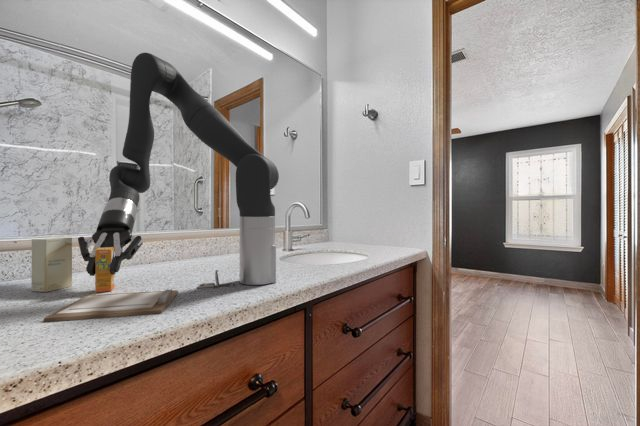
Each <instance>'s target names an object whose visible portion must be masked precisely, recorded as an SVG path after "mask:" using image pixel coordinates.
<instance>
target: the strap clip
mask: <svg viewBox="0 0 640 426" xmlns="http://www.w3.org/2000/svg"><path fill="white" fill-rule="evenodd" d="M214 272H215V273H214V276H215V277H214V278H215V283H214V282H203V283H199V284H198V287H197V290H207V289H210V290H211V289H215V287H217V288H218V289H219V288H220V289H221V288H233V287H234V288H235V283H231V282H230V283H220V281H219V274H218V272H219V270H217V269H216V270H215V271H214Z"/></svg>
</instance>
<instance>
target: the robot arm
mask: <svg viewBox="0 0 640 426" xmlns="http://www.w3.org/2000/svg"><path fill="white" fill-rule="evenodd" d="M129 88H130V89H129V114H128V122H127V123H128V124H127V130H126V135H125V138H124V142H123V148H122V152H121V153H122V156H123V157H124V158H125V159H127V160H128V161H131V162H133V163H135V164H137V165H138V167H139V168H134V167H130V166H127V165H123V164H122V165H121V164H119V165H115V166H113V168H111V170H110V173H109V176H108V177H109V186H110V193H109V197H108V200H107V203H106V204H105V206H104V207H103V210H102V213H101V216H100V218H99V221H98V224H97V227H96V231H95V232H93V234H92V235H91V236H89V237H84V236H79V237H78V238H77V241H78V247H79V251H80V255H81V257H82V258H83V261H84V262H87V264H86V268H85V269H86V272H87V274H89V276H90V277H93V276H94V277H95V250H96V249H98V248H104V247H114V257H113V259H112V262H111V266H110V273H111V275H114V276H115V275H116V273H118V272H119V271H120V269H121V264H122V261H124V260H127V261H130V260H131V259H133V257H134V256H135V254H136V253H137V252H138V251H139V249H140V248H141V247H142V245H143V239H142V236H141V235H136V236H135V235H134V236H133V234H132V233H133V231H134V230H133V229H134V227H135V226H134V225H135V222H136V220H137V209H138V207H139V202H140V194H144V193H146V192H147V191H148V190H149V189H150V186H151V173H150V171H151V170H150V162H151V160H150V159H151V156H152V155H151V154H152V150H153V146H154V141H155V128H154V125H153V120H152V116H151V110H150V109H151V108H150V107H151V106H150V103H151V102H150V101H151V96H152V94H153V93H152V92H154V93H156V94H159V95H162V96H163V97H165V98H166V99H168V100H169V101H170V102H171V103H172V104H173V105H174V106H175V107H177V109H178V110H179V112H180V115H181V117H182V120H183V122H184V124H185V126H186V127H187V128H188V130H190V131H191V132H192V134H193V135H195V136H196V137H197V138H198V139H199V140H200V141H201V142H203V144H205V145H206V146H208V147H209V149H212V150H213V151H215V152H216V153H218V154H219V155H220V156H221V157H224V158H225V159H226V160H228V161H229V162H230V163H232V164H233V165H234V166H235V167H236V170H235V197H236V204H237V208H238V211H239V283H240V284H243V285H247V286H258V285H267V284H271V283H272V284H274V283H277V246H276V208H275V205H274V204H273V201H272V197H271V195H272V194H271V190H273V189H274V188H276V186H277V185H278V182H279V179H280V178H279V177H280V176H279V170H278V168H277V166H276V164H275V163H274V162H273V161H271V160H270V159H269V158H268V157H266V156H265V155H264V154H262V153H261V152H260V151H258V150H257V149H256V148H254V147H253V146H252V145H251V144H250V143H249V142H248V141H247V140H246V139H245V138H244V136H242V135H241V133H240V132H239V131H238V130H237V129H236V128H235V127H234V126H233V124H232V123H231V122H230V121H228V119H227V118H226V117H225V116H224V115H223V114H222V113H221V112H220V111H219V110H217V109H216V108H215V106H214V105H212V104H211V103H210V102H209V101H208V100H207V99H205V98H204V97H203V96H202V95H201V94H199V93H198V92H197V91H196V90H195V89H193V87H192V86H191V84H189V83H188V82H187V80H186V79H185V78H184V77H183V75H182V74H181V73H180V72H179V71H178V70H177V69H176V67H175V66H173V65H172V64H171V63H169V62H168V61H166V60H164V59H162V58H160V57H158V56H156V55H154V54H152V53H149V52H141V53H139V54H137V55H136V56H135V58H134V60H133V62H132V65H131V70H130V86H129ZM92 243H94V245H93V249H92V250H91V252H89V248H91V245H92ZM128 244H129V245H128ZM127 245H128V246H127ZM126 246H127V247H126ZM124 247H126V249H125V250H124V249H123V248H124Z"/></svg>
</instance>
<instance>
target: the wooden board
mask: <svg viewBox="0 0 640 426" xmlns="http://www.w3.org/2000/svg"><path fill="white" fill-rule="evenodd" d="M178 294H179V289H178V290H177V289H176V290H173V289H165V290H158V291H141V292H140V291H139V292H123V293H122V292H121V293H108V294H107V293H106V294H104V293H103V294H102V293H101V294H91V295H90V294H88V295H85V296H83V297H81V298H79V299H78V300H76V301H74V302H71V303H70V304H68V305H66V306H64V307H62V308H61V309H59V310H57V311H54V312H53V313H51V314H49V315H47V316H45V317H43V323H46V322H61V321H73V320H74V321H76V320H87V319H100V318H101V319H102V318H113V317H116V318H117V317H127V316H142V315H155V314H156V315H157V314H162V313H163V312H164V311H165V309H166V308H167V307H169V304H171V302H172V301H173V300H174V299H175V298H176V296H177V295H178Z"/></svg>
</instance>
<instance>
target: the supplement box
mask: <svg viewBox="0 0 640 426" xmlns="http://www.w3.org/2000/svg"><path fill="white" fill-rule="evenodd" d="M113 257H115V251H114V247H104V248H98V249H96V250H95V275H94V277H95V279H94V281H95V283H94V284H95V285H94V286H95V287H94V289H95V293H107V292H112V291H113V290H114V289H115V275H111V273H110V266H111V262H112V259H113Z"/></svg>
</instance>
